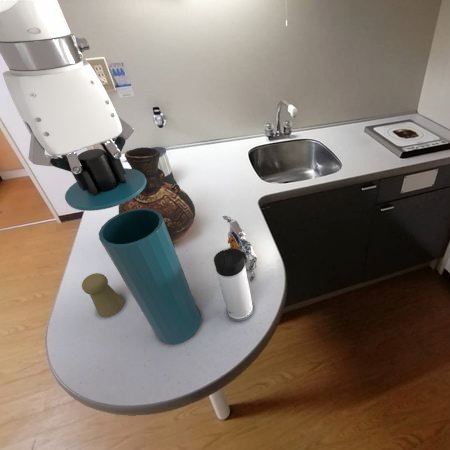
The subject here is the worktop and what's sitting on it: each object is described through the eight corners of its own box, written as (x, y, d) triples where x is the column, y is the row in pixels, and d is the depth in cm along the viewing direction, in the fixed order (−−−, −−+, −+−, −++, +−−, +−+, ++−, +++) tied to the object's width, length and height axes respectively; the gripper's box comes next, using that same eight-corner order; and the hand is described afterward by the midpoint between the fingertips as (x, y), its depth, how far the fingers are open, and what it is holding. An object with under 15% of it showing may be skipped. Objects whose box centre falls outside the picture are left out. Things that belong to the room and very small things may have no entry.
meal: (224, 251, 93) (216, 218, 85) (237, 246, 95) (230, 213, 87) (246, 283, 84) (240, 249, 75) (260, 276, 86) (255, 242, 77)
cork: (128, 303, 79) (111, 275, 72) (106, 321, 75) (86, 293, 68) (115, 293, 82) (96, 265, 74) (93, 310, 78) (71, 282, 71)
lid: (87, 224, 43) (63, 183, 38) (56, 195, 48) (32, 157, 44) (161, 189, 49) (147, 151, 45) (126, 167, 55) (111, 131, 51)
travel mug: (229, 325, 74) (213, 270, 61) (227, 303, 79) (212, 247, 66) (254, 319, 75) (244, 264, 62) (251, 298, 80) (241, 242, 67)
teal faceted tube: (172, 353, 69) (117, 255, 48) (147, 327, 74) (88, 228, 53) (209, 321, 75) (174, 223, 54) (184, 299, 80) (143, 201, 60)
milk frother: (164, 178, 126) (153, 144, 117) (194, 186, 121) (185, 152, 112) (137, 196, 117) (122, 161, 107) (169, 206, 111) (156, 170, 102)
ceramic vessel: (125, 261, 91) (76, 172, 71) (140, 223, 104) (102, 140, 84) (198, 253, 93) (170, 165, 73) (203, 217, 106) (180, 135, 87)
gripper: (99, 41, 43) (143, 159, 55) (-56, 63, 33) (37, 201, 45) (126, 47, 39) (166, 172, 51) (-41, 74, 30) (57, 221, 41)
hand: (105, 184), depth 48 cm, fingers closed on lid, 3 cm apart
